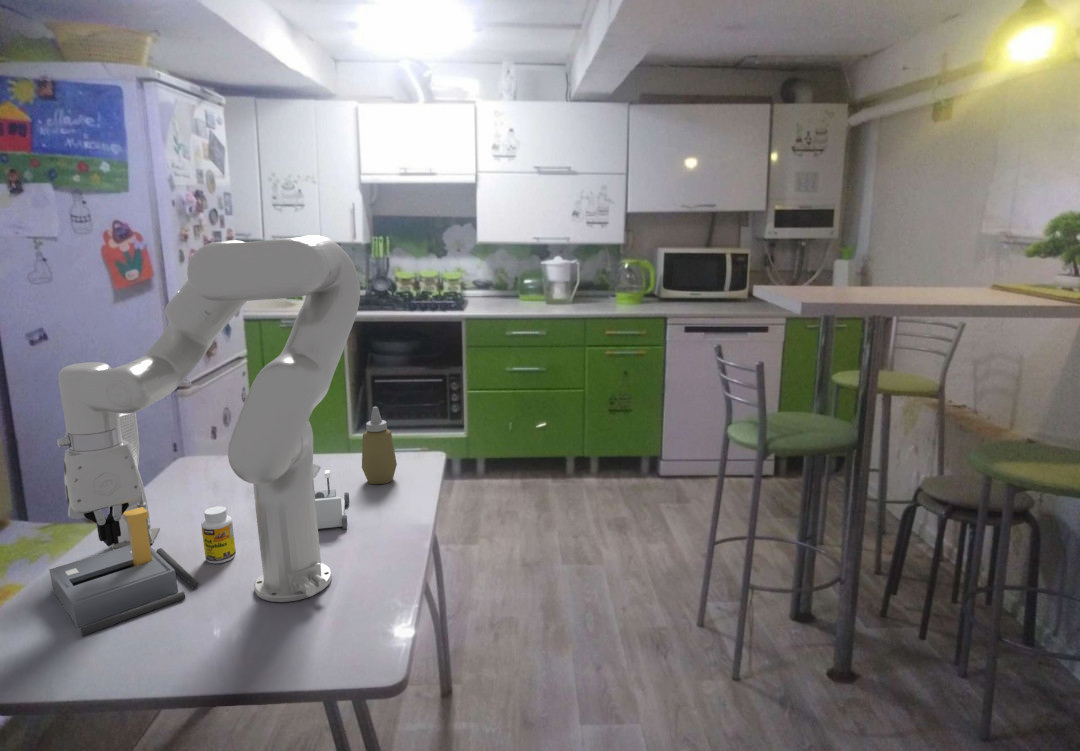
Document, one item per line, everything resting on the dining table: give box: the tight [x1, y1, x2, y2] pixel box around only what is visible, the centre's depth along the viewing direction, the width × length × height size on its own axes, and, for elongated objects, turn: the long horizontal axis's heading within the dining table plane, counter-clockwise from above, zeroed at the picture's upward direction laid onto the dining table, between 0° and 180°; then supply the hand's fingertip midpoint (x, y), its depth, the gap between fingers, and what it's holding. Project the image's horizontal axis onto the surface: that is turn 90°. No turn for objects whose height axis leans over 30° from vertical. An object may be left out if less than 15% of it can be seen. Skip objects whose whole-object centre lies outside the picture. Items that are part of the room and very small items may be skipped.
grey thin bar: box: [79, 591, 186, 636], centre depth 117 cm, size 1×15×1 cm, turn 134°
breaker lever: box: [123, 507, 152, 566], centre depth 126 cm, size 3×3×10 cm
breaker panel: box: [48, 545, 179, 628], centre depth 124 cm, size 16×15×4 cm
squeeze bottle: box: [361, 406, 398, 485], centre depth 171 cm, size 8×8×18 cm
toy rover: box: [313, 463, 350, 531], centre depth 153 cm, size 18×10×12 cm
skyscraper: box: [111, 412, 161, 551], centre depth 141 cm, size 8×8×28 cm
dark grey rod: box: [155, 547, 199, 589], centre depth 131 cm, size 18×1×1 cm, turn 44°
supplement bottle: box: [200, 505, 237, 564], centre depth 135 cm, size 5×5×10 cm
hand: (110, 542), depth 123 cm, fingers closed
